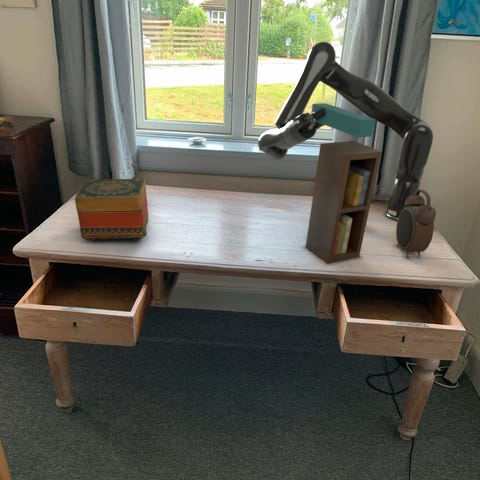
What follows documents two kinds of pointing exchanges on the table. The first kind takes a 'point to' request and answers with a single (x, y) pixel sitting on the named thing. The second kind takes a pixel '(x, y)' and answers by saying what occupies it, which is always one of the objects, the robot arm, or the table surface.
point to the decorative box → (112, 209)
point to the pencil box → (345, 120)
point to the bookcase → (341, 199)
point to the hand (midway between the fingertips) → (331, 110)
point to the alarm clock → (415, 224)
